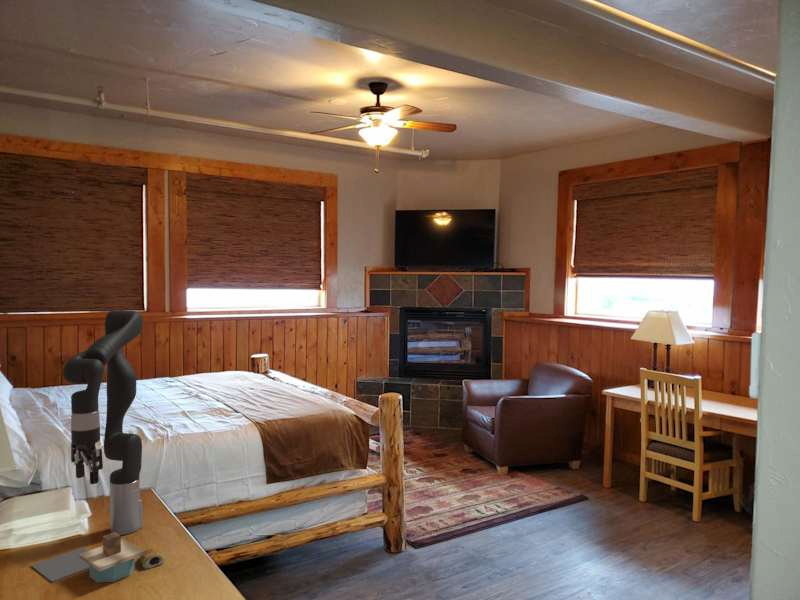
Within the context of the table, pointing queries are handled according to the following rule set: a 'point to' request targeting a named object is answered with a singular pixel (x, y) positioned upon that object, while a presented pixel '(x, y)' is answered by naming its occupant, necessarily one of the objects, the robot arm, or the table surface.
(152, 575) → the table surface
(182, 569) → the table surface
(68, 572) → the mat
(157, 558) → the pastry
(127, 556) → the lid
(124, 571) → the bowl
